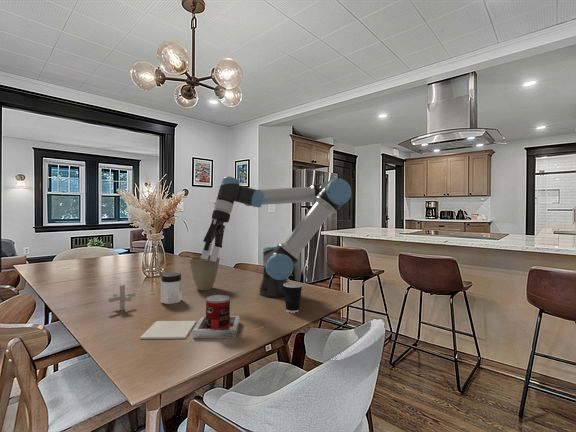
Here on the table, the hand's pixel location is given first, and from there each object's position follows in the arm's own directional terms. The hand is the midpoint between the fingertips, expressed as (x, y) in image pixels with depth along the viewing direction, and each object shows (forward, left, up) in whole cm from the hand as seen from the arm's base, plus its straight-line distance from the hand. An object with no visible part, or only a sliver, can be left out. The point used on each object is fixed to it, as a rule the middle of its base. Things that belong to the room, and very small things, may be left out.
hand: (208, 260), depth 128 cm
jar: (+18, -9, -20) cm, 28 cm away
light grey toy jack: (+34, +2, -20) cm, 39 cm away
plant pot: (+8, -31, -20) cm, 38 cm away
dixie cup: (-35, +5, -20) cm, 41 cm away
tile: (+8, +24, -20) cm, 32 cm away
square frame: (-8, +24, -20) cm, 32 cm away
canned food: (-8, +24, -20) cm, 32 cm away
